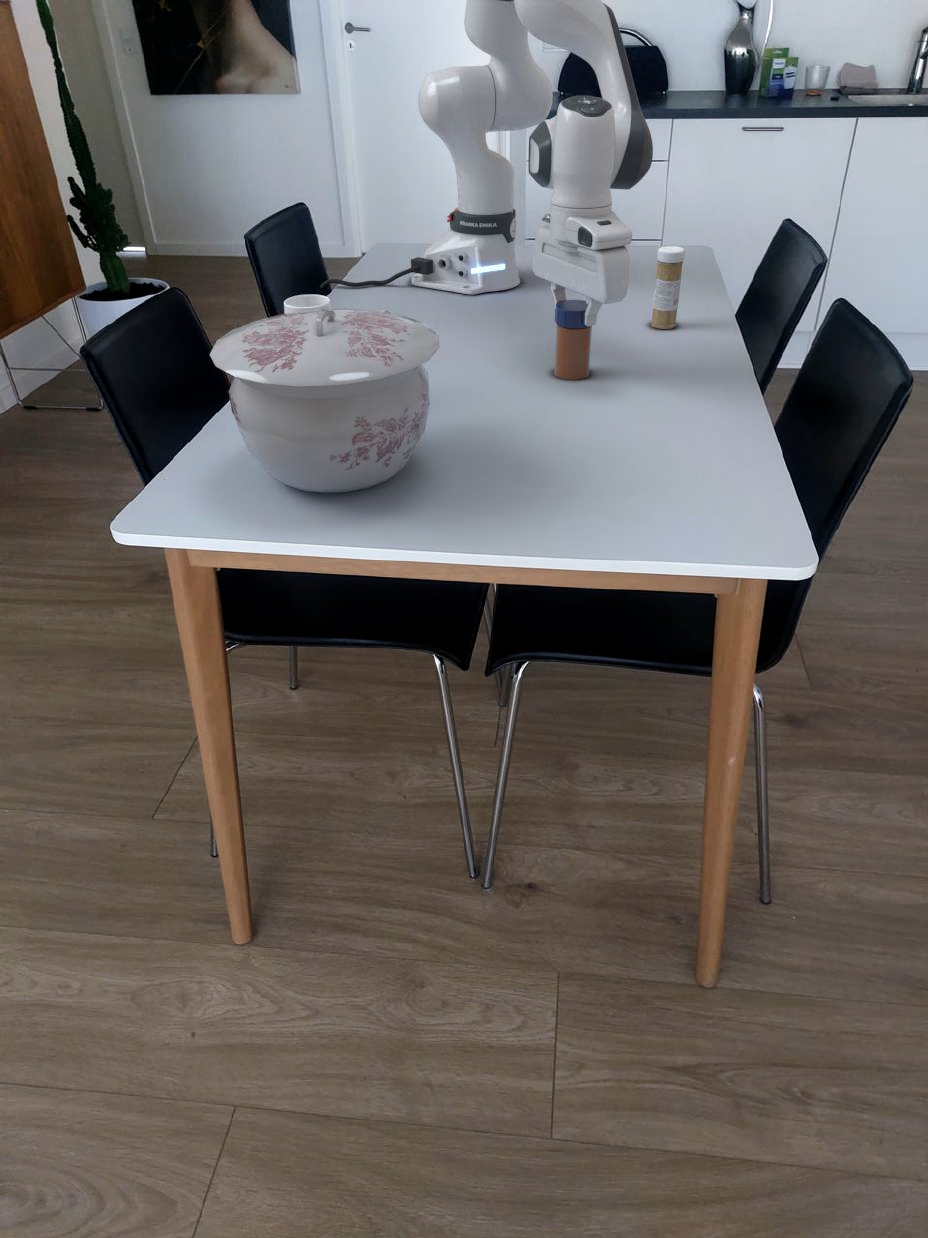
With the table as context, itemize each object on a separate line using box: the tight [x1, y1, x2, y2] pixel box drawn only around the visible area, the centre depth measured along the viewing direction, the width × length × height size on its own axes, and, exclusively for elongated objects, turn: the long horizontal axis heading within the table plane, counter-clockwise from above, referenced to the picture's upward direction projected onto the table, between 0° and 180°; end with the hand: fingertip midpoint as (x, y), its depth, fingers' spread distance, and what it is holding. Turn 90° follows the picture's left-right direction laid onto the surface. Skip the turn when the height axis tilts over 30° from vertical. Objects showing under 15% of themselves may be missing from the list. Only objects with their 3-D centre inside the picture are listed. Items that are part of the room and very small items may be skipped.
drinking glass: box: [283, 294, 333, 314], centre depth 139 cm, size 7×7×15 cm
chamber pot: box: [209, 307, 441, 494], centre depth 118 cm, size 28×28×21 cm
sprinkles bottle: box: [650, 245, 686, 330], centre depth 167 cm, size 5×5×14 cm
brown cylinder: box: [554, 324, 593, 381], centre depth 149 cm, size 6×6×10 cm
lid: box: [554, 299, 590, 328], centre depth 146 cm, size 6×6×3 cm
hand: (574, 318), depth 147 cm, fingers closed on lid, 6 cm apart
